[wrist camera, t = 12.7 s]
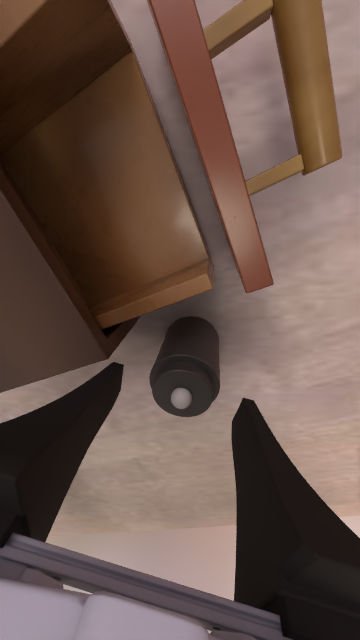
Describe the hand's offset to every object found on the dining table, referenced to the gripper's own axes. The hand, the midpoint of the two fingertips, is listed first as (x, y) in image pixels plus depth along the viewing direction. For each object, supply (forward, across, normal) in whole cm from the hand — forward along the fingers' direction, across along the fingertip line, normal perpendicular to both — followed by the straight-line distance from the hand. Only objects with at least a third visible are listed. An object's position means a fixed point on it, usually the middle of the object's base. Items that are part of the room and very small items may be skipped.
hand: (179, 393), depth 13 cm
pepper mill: (+6, 0, 0) cm, 6 cm away
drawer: (+5, +5, -10) cm, 12 cm away
